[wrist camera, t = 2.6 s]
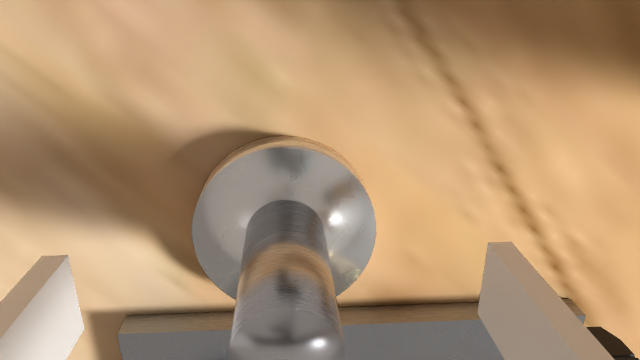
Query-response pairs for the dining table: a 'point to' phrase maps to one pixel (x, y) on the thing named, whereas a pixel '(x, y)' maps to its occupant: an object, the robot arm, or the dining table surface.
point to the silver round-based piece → (284, 245)
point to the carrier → (357, 329)
